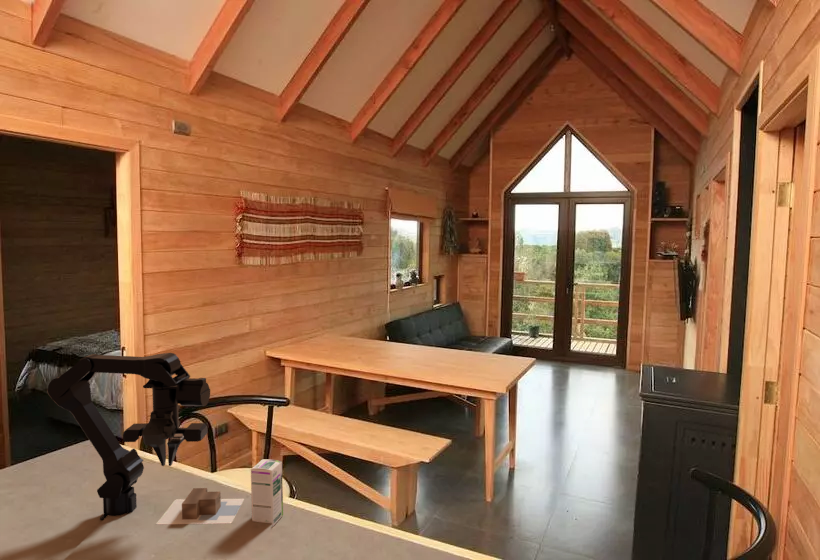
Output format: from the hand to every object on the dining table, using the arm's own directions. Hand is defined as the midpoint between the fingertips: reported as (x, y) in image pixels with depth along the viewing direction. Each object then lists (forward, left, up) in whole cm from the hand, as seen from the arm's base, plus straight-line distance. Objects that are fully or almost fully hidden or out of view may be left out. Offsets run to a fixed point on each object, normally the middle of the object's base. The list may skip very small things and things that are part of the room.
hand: (167, 465), depth 131 cm
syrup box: (+25, -3, -13) cm, 29 cm away
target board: (+8, 0, -13) cm, 16 cm away
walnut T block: (+9, 0, -12) cm, 15 cm away
